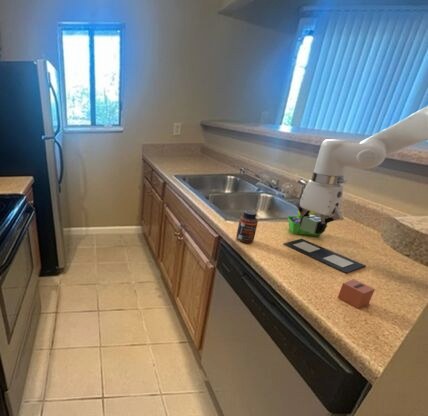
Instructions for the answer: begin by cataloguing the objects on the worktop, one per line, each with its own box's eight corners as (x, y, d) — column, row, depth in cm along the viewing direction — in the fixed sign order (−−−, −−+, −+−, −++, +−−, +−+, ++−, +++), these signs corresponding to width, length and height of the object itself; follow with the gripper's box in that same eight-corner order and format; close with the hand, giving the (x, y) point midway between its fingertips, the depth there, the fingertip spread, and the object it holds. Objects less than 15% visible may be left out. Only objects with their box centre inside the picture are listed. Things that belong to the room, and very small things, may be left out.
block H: (322, 232, 94) (326, 219, 92) (313, 234, 92) (317, 221, 90) (308, 226, 98) (311, 214, 96) (299, 228, 96) (303, 216, 94)
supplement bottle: (240, 243, 100) (246, 215, 96) (233, 236, 106) (238, 209, 102) (256, 243, 101) (262, 215, 96) (248, 236, 106) (253, 209, 102)
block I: (368, 303, 70) (375, 288, 69) (358, 308, 69) (364, 293, 67) (348, 293, 74) (353, 278, 72) (337, 297, 73) (342, 282, 71)
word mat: (365, 266, 86) (366, 265, 86) (345, 273, 82) (346, 272, 82) (301, 239, 103) (301, 238, 103) (283, 244, 100) (283, 243, 100)
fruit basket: (289, 234, 107) (297, 207, 103) (283, 225, 115) (290, 200, 111) (324, 238, 104) (333, 211, 100) (315, 229, 111) (323, 203, 107)
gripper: (364, 184, 82) (345, 238, 89) (307, 172, 97) (294, 219, 103) (349, 187, 80) (330, 242, 86) (292, 174, 94) (280, 222, 101)
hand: (311, 229), depth 95 cm, fingers closed on block H, 4 cm apart
